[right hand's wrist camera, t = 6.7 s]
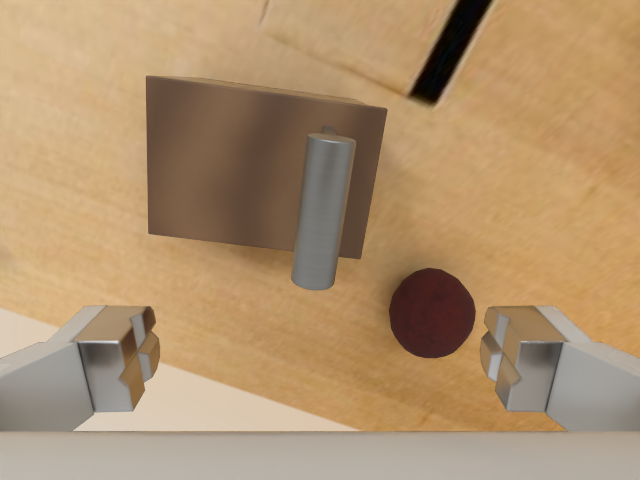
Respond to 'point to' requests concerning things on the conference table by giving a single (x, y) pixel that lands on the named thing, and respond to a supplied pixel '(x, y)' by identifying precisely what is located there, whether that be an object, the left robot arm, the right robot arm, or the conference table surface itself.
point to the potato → (431, 313)
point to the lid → (262, 171)
